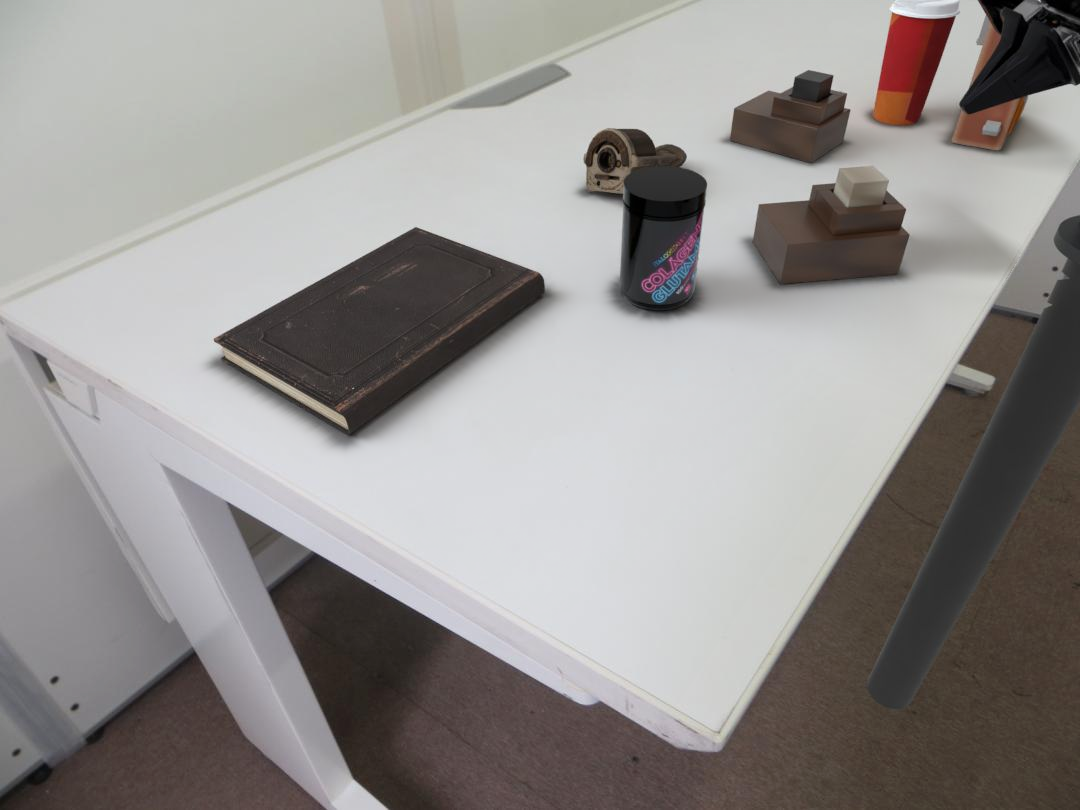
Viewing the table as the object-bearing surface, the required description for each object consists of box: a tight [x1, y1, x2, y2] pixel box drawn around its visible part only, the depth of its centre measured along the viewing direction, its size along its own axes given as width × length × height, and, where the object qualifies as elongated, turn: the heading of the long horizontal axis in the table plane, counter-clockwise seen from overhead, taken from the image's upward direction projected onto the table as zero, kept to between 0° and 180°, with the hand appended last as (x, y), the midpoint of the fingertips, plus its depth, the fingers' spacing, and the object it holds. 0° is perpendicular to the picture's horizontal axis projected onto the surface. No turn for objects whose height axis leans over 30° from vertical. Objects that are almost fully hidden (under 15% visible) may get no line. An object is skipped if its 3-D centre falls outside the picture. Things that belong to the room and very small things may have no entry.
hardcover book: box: [213, 226, 546, 435], centre depth 64 cm, size 16×23×2 cm
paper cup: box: [872, 0, 961, 126], centre depth 93 cm, size 8×8×14 cm
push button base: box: [729, 86, 851, 164], centre depth 91 cm, size 11×8×6 cm
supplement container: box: [619, 166, 708, 312], centre depth 65 cm, size 7×7×10 cm
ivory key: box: [834, 165, 890, 208], centre depth 67 cm, size 3×3×2 cm
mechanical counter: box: [582, 127, 688, 195], centre depth 83 cm, size 7×13×10 cm
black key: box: [791, 69, 834, 103], centre depth 88 cm, size 3×3×2 cm
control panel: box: [951, 14, 1055, 152], centre depth 87 cm, size 21×7×15 cm
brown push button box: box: [752, 182, 911, 285], centre depth 70 cm, size 11×8×6 cm
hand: (963, 109), depth 64 cm, fingers closed
